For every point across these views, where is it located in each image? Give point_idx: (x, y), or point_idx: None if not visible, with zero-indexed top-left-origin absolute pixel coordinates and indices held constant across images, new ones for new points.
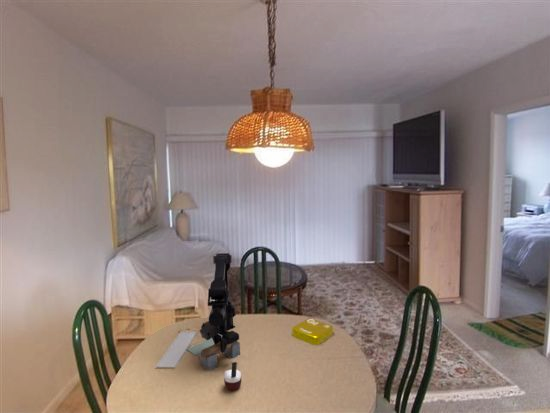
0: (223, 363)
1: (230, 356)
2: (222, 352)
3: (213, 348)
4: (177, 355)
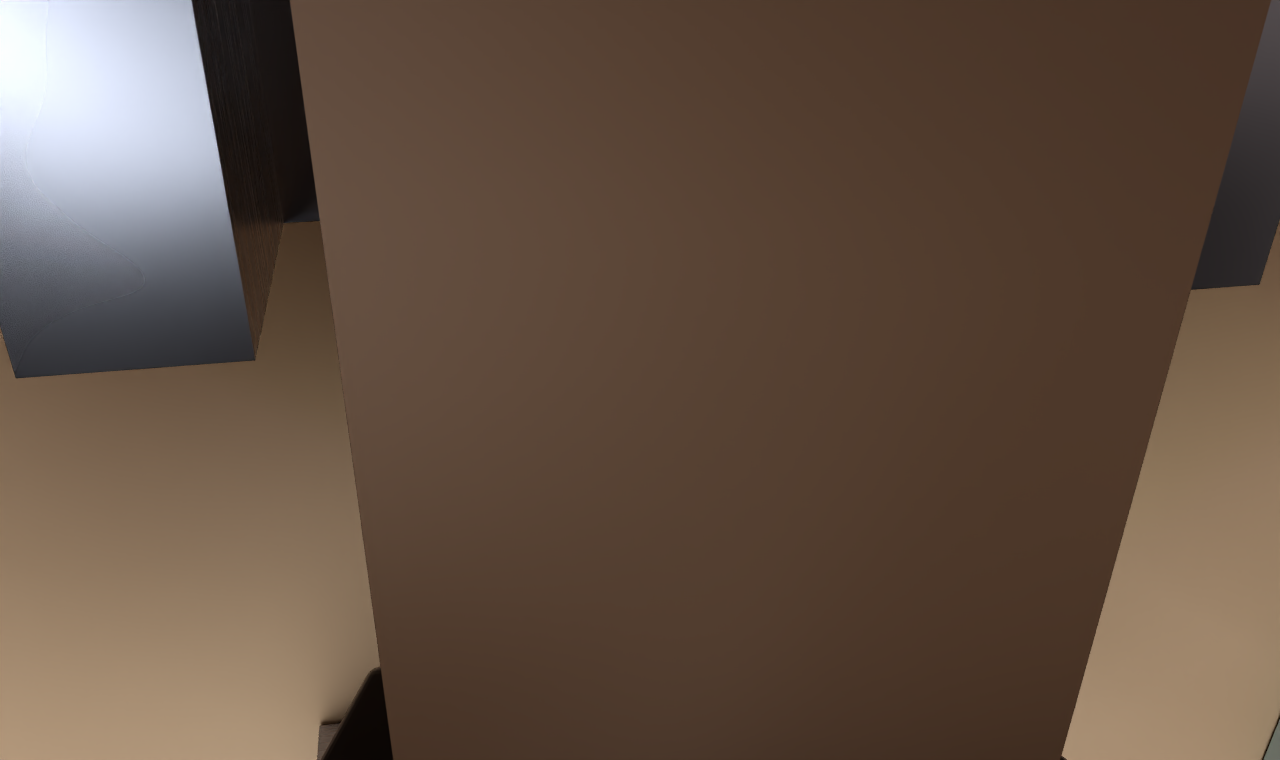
0: (270, 374)
1: None
2: (358, 707)
3: (531, 521)
4: None
